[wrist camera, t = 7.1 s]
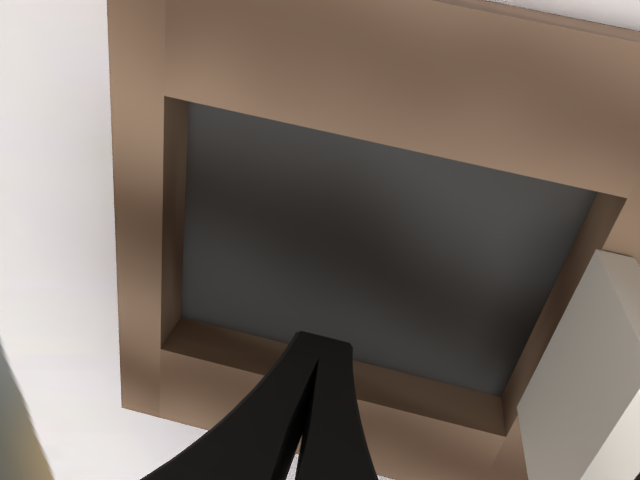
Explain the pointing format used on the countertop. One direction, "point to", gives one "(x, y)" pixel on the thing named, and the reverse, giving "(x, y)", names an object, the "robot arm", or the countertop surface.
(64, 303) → the countertop surface
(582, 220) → the deck
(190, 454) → the robot arm
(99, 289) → the countertop surface
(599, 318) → the slider
